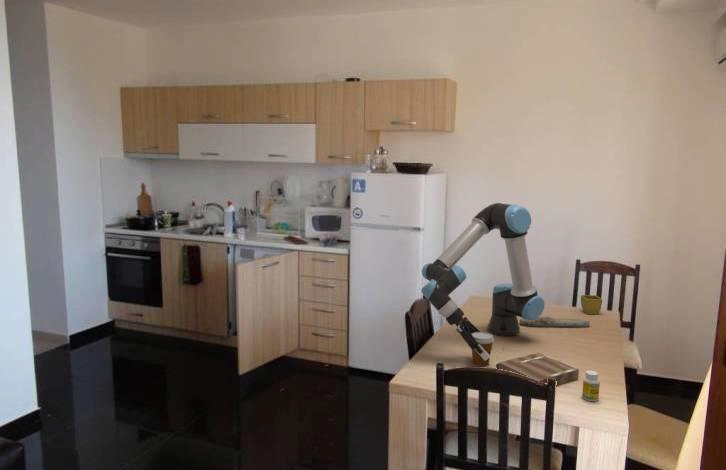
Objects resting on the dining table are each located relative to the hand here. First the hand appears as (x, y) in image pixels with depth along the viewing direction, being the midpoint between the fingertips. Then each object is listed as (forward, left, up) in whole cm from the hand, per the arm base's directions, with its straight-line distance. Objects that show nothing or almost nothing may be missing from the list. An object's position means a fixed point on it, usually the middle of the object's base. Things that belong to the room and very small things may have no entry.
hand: (489, 354), depth 221 cm
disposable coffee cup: (+2, -2, -5) cm, 6 cm away
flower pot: (-100, -28, -5) cm, 104 cm away
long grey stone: (-66, -23, -5) cm, 70 cm away
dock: (-9, +18, -4) cm, 20 cm away
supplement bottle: (-10, +41, -5) cm, 42 cm away
